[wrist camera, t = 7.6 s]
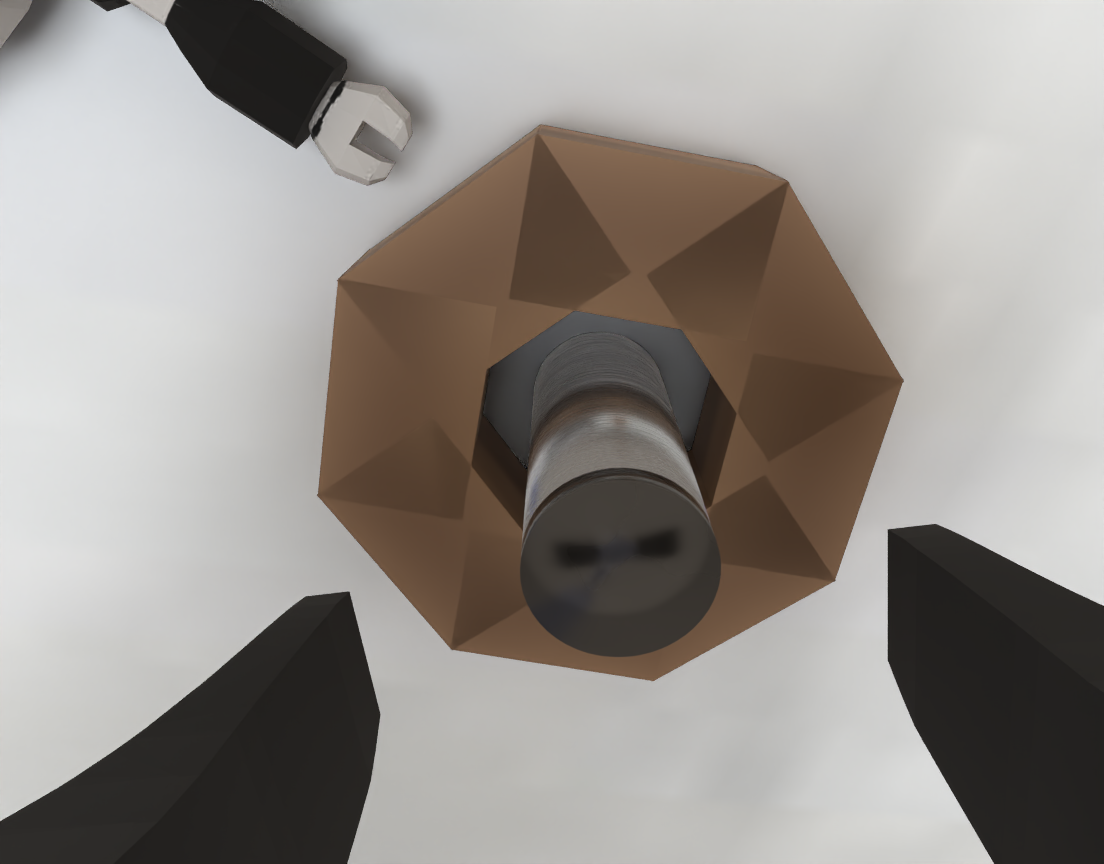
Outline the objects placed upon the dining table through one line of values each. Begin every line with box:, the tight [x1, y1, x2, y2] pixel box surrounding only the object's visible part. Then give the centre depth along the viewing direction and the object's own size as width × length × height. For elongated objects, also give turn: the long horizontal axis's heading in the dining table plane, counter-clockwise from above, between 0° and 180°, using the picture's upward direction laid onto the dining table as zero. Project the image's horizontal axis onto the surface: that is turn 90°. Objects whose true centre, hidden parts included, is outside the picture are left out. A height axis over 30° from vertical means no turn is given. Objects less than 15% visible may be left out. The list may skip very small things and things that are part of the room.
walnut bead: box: [317, 124, 904, 681], centre depth 19 cm, size 11×11×3 cm
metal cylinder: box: [520, 332, 721, 657], centre depth 17 cm, size 3×3×8 cm
